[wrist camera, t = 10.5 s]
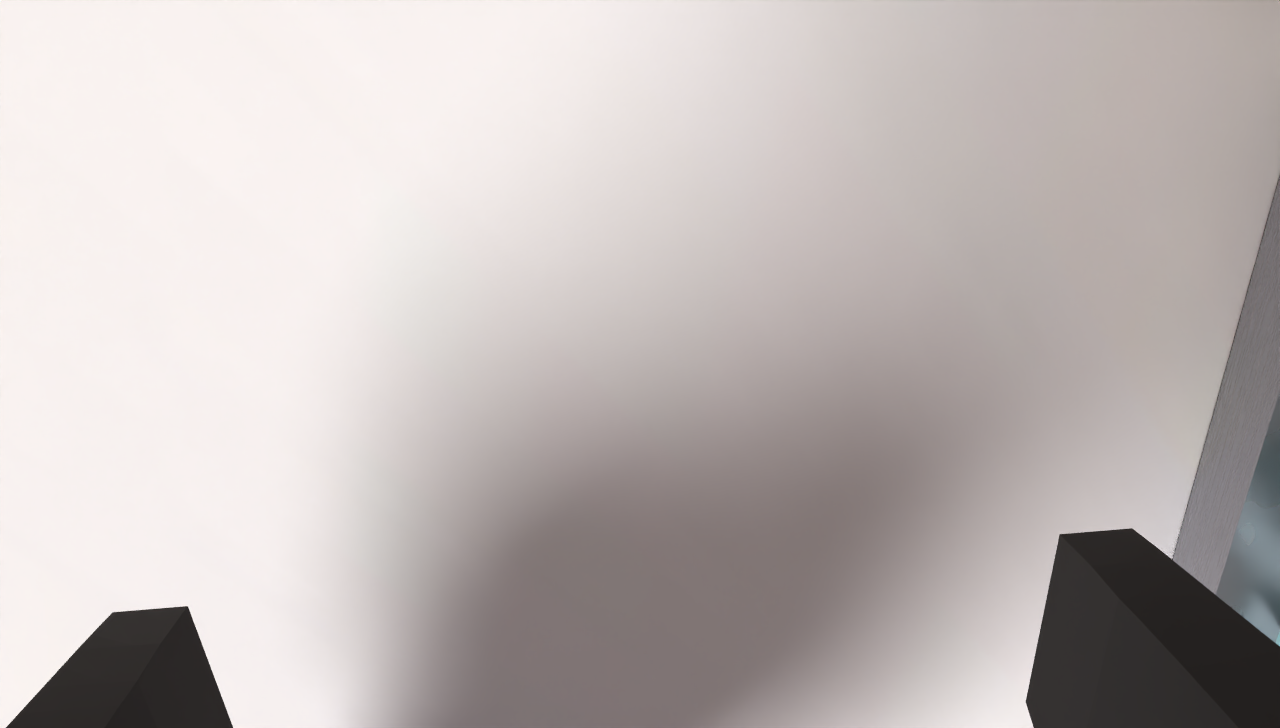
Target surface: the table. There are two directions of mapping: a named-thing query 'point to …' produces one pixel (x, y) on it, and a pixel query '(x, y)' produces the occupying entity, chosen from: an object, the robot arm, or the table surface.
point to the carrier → (1244, 460)
